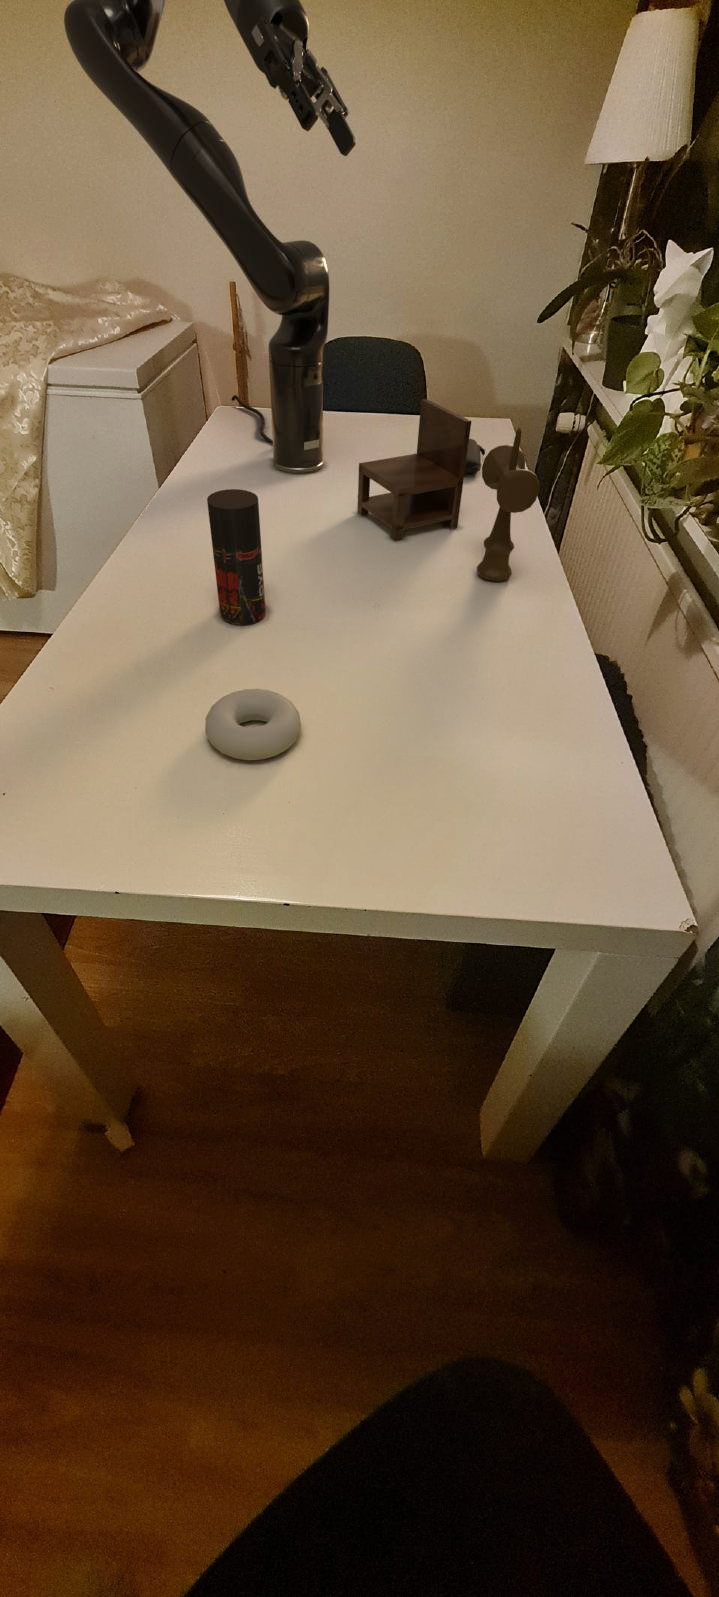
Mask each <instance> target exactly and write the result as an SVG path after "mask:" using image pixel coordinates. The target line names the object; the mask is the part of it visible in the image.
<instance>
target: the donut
mask: <svg viewBox="0 0 719 1597" xmlns="http://www.w3.org/2000/svg"><path fill="white" fill-rule="evenodd" d="M248 721H263V722H266V723H265V724H262V725H259V726H252V727H249V726H242V725H240V724H242V723H245V722H248ZM204 722H205V723H204V724H205V725H204V731H205V735H206V736H207V739H208V740H209V742H210V745H212V746H213V747H214V748H215V749H216V750H218V752H220V753H221V754H223V755H225V756H228V757H229V758H233V759H237V760H243V761H259V760H265V759H269V758H273V757H275V756H278V755H279V754H281V753H283V752H285V751H287V750H289V748H290V747H291V746H292V745H293V744H294V743H295V742H296V741H297V739H298V737H299V734H300V732H301V728H302V723H301V716H300V712H299V711H298V709H297V707H296V706H295V705H294V703H293V702H292V701H291V700H290V699H288V698H287V697H286V696H284V695H283V694H281V693H278V692H275V691H273V690H269V689H261V688H247V689H242V690H237V691H236V690H235V691H233V692H230V693H228V694H226V695H224V696H222V697H221V698H219V699H218V700H217V701H215V703H214V704H212V705H211V707H210V709H209V711H208V713H207V714H206V715H205V721H204Z"/></svg>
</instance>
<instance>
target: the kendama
mask: <svg viewBox="0 0 719 1597" xmlns="http://www.w3.org/2000/svg"><path fill="white" fill-rule="evenodd" d="M521 440H522V428H521V427H518V428H517V429H516V432H515V435H514V439H513V444H512V445H511V444H502V445H497V446H495V447H494V448H492V449H490V450H489V452H488V453H487V455H486V456H485V457H484V459H483V462H482V465H481V477H482V480H483V482H484V485H485V486H487V487H488V488H489V489H491V490H494V491H495V490H496V503H497V504H498V506H499V508H498V510H497V514H496V517H495V520H494V523H493V526H492V530H491V531H490V534H489V536H487V537H485V539H484V540H483V547H484V555H483V558H482V560H481V561H480V562H479V563H478V565H477V567H476V572H477V573H478V575H479V576H480V577H482V578H483V579H485V580H489V581H496V582H498V581H504V580H507V579H509V578H510V577H511V576H512V574H513V573H512V568H511V566H510V563H509V562H510V554H511V553H512V551H514V549H515V543H514V542H513V540H512V537H511V536H512V535H511V525H512V524H511V521H512V520H511V519H512V513H513V514H517V513H523V512H525V511H527V510H529V509H530V508H531V507H532V506H533V505H534V504H535V502H537V498H538V495H539V492H540V481H539V478H538V476H537V474H536V473H534V472H533V471H532V470H529V469H526V458H525V455H524V452H523V451H522V450H521V449H520V448H521Z"/></svg>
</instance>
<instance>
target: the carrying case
mask: <svg viewBox="0 0 719 1597" xmlns="http://www.w3.org/2000/svg"><path fill="white" fill-rule="evenodd" d="M485 455H486V450H485V448H483V447H482V445H481V444H478V442H477V440H475V439H473V438H469V444H468V451H467V459H466V466H465V474H464V477H472V476H475V475H476V474H477V473H478V472H480V471H481V469H482V462H481V461H482V460H481V456H483V457H484V456H485Z"/></svg>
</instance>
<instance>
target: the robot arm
mask: <svg viewBox="0 0 719 1597" xmlns="http://www.w3.org/2000/svg"><path fill="white" fill-rule="evenodd" d="M166 3H167V0H72V1H71V2H70V3H69V4H67V6H66V8H65V11H64V15H63V24H64V31H65V35H66V39H67V41H68V44H69V46H70V49H71V51H72V52H73V55H74V56H75V58H76V60H77V62H78V63H79V65H80V67H81V69H82V70H83V72H84V73H85V74H86V76H87V77H88V78H89V79H90V81H91V82H92V83H93V85H95V86H96V87H97V89H98V90H99V91H100V92H101V93H102V95H104V96H105V97H106V99H108V100H109V102H110V103H111V104H112V105H113V106H114V107H115V108H116V109H117V111H119V112H120V113H121V115H122V116H123V117H124V118H125V119H126V120H127V122H129V123H130V125H132V127H133V128H134V129H135V130H136V132H137V133H138V134H139V135H140V137H141V138H142V139H143V140H144V141H145V142H146V144H147V145H148V146H149V147H150V149H151V150H152V152H154V154H155V155H156V157H157V158H158V159H159V160H160V162H161V163H162V164H163V166H164V167H165V169H166V170H167V172H168V173H169V174H170V176H171V177H172V178H173V180H174V181H175V182H176V183H177V185H178V186H179V187H180V189H181V190H182V191H183V193H184V194H185V195H186V196H187V198H188V199H189V201H191V203H193V205H194V207H196V208H197V210H198V211H199V212H200V213H201V215H202V216H203V217H204V219H205V220H206V222H207V223H208V224H209V226H210V227H211V229H212V230H213V231H214V233H215V234H216V235H217V236H218V238H219V240H221V241H222V243H223V245H224V246H225V247H226V248H227V250H228V252H229V253H230V254H231V256H232V257H233V259H234V260H235V262H236V264H237V265H238V267H239V269H240V270H241V271H242V273H243V275H244V277H245V278H246V280H247V281H248V283H249V284H250V286H251V288H252V289H253V291H254V292H255V294H256V295H257V297H258V298H259V300H260V301H261V302H262V303H263V304H264V306H265V307H266V308H267V309H268V310H270V311H271V312H272V313H274V314H276V315H279V316H281V319H280V323H279V326H278V327H277V329H276V332H275V333H274V334H273V335H272V336H271V338H270V339H269V340H268V346H267V347H268V348H267V349H268V367H269V371H268V372H269V389H270V408H271V409H270V412H271V413H270V414H271V433H272V435H271V436H272V439H271V438H270V437H269V436H267V435H266V434H265V433H264V430H265V428H266V420H265V416H264V415H263V413H261V411H259V410H258V409H256V408H254V407H253V406H249V405H247V404H245V403H244V402H243V401H242V400H241V399H240V397H239V396H238V395H236V394H233V395H232V397H231V401H233V402H234V401H236V402H237V403H238V404H239V406H241V407H242V408H244V409H245V410H247V411H250V412H252V413H254V414H256V415H257V416H259V418H260V421H261V426H260V428H259V434H260V436H261V437H262V439H264V440H265V441H266V442H267V443H269V444H271V445H272V453H273V454H272V455H273V456H272V464H273V467H274V468H275V469H276V470H278V471H281V472H286V473H291V474H307V473H313V472H316V471H319V470H321V469H322V468H323V467H324V348H325V346H326V343H327V339H328V333H329V313H330V274H329V269H328V268H329V267H328V262H327V261H326V258H325V255H324V254H323V251H322V250H321V249H320V248H319V247H318V245H316V244H315V243H314V242H311V241H309V240H305V239H299V240H291V241H285V242H284V241H283V242H282V241H281V240H280V239H279V238H277V237H276V236H275V235H274V234H273V232H272V231H271V230H270V229H269V228H268V227H267V225H266V224H265V223H264V222H263V220H262V219H261V218H260V216H259V215H258V213H257V212H256V211H255V209H254V207H253V205H252V204H251V201H250V199H249V196H248V192H247V188H246V183H245V180H244V175H243V172H242V169H241V166H240V164H239V161H238V159H237V157H236V155H235V153H234V152H233V150H232V149H231V148H230V146H229V144H228V143H227V142H226V140H225V139H224V138H223V136H222V135H221V134H220V132H219V131H218V130H217V129H216V127H215V126H214V125H213V124H212V122H211V121H210V119H208V117H207V116H206V115H205V114H204V113H203V112H202V111H200V110H199V109H197V108H196V107H195V106H193V105H191V104H190V103H188V102H186V101H185V100H183V99H181V98H179V97H177V96H175V95H173V94H171V93H170V92H168V91H165V90H164V89H162V88H160V87H158V86H157V85H155V84H153V83H152V82H150V81H149V80H147V79H146V78H145V77H143V75H141V74H140V72H142V70H144V69H145V68H146V66H147V65H148V63H149V62H150V60H151V57H152V53H153V51H154V48H155V43H156V40H157V35H158V32H159V29H160V25H161V21H162V18H163V14H164V9H165V6H166ZM223 3H224V5H225V7H226V10H227V13H228V15H229V16H230V19H231V20H232V22H233V24H234V26H235V28H236V30H237V33H238V34H239V36H240V38H241V40H242V41H243V43H244V45H245V47H246V49H247V51H248V53H249V55H250V56H251V58H252V60H253V62H254V64H255V67H256V68H257V69H258V70H259V71H260V72H261V73H262V74H264V75H265V78H266V80H267V82H268V84H269V86H270V87H271V88H273V90H276V89H277V88H278V91H279V93H280V96H281V97H282V99H284V100H285V101H287V102H288V104H289V106H290V108H291V109H292V111H293V114H294V115H295V118H296V119H297V121H298V123H299V125H300V127H301V128H302V130H304V131H306V132H310V131H311V130H312V128H313V127H314V125H315V124H316V122H317V121H318V119H320V120H321V121H322V123H323V124H324V126H325V128H326V129H327V131H328V133H329V134H330V137H331V139H332V140H333V142H334V144H335V146H336V148H337V150H338V151H339V153H340V155H342V156H343V157H347V156H349V154H350V153H351V152H352V150H353V149H354V147H355V146H356V144H357V139H356V137H355V136H354V133H353V131H352V129H351V127H350V125H349V123H348V121H347V120H346V119H347V117H348V116H349V114H350V112H349V109H348V107H347V106H346V104H345V102H344V100H343V98H342V97H341V95H340V93H339V91H338V89H337V88H336V85H335V84H334V82H333V79H332V78H331V76H330V74H329V72H328V69H327V68H325V67H324V66H321V67H320V66H319V65H318V59H317V58H316V57H315V56H314V54H313V53H312V51H311V49H309V48H307V45H308V40H309V35H310V34H309V33H310V22H309V17H308V15H307V12H306V11H305V9H304V7H303V5H302V2H301V0H223ZM312 98H315V100H316V101H315V102H313V99H312ZM331 109H332V110H331Z"/></svg>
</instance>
